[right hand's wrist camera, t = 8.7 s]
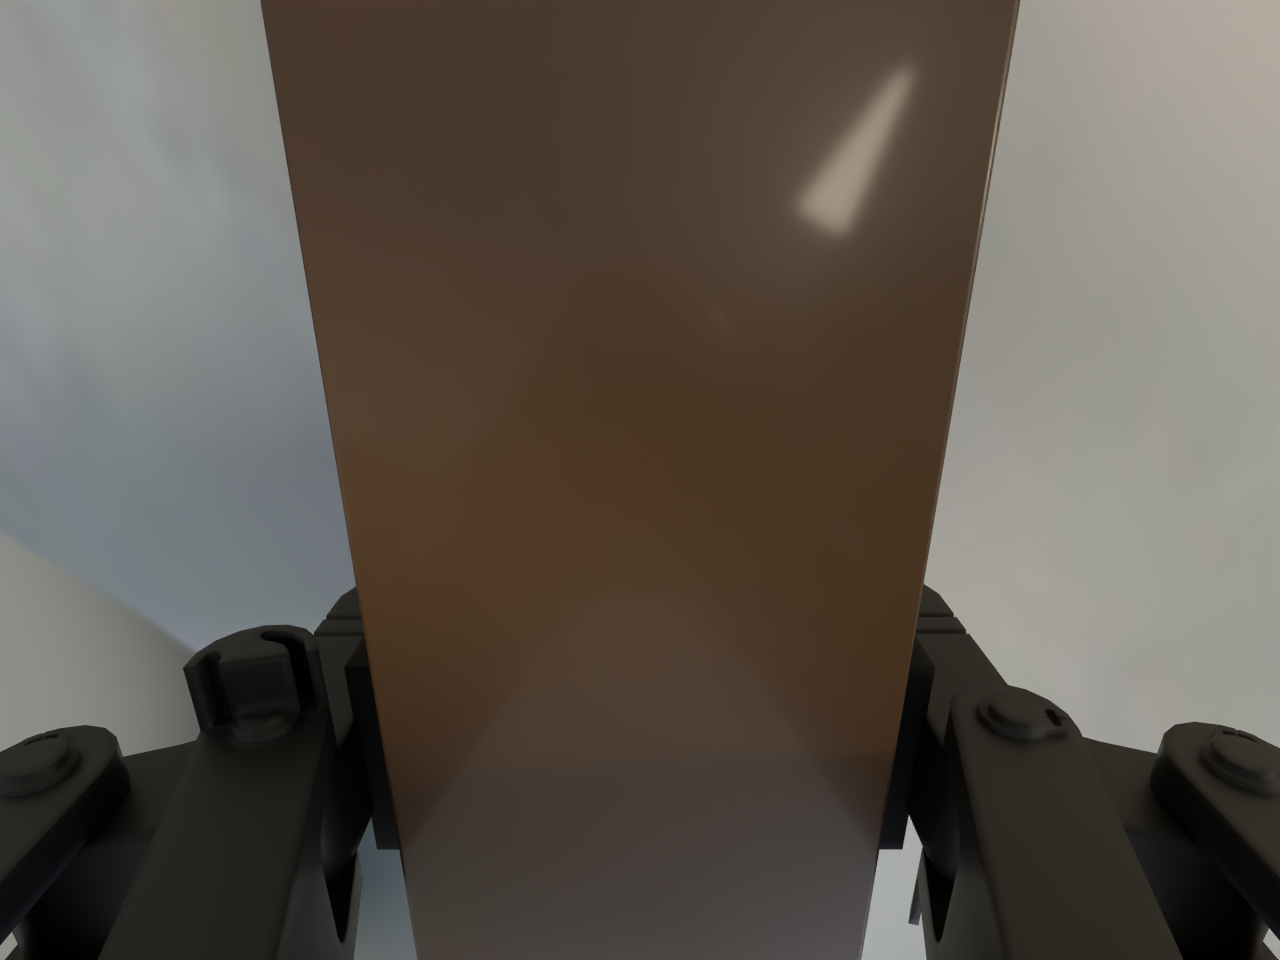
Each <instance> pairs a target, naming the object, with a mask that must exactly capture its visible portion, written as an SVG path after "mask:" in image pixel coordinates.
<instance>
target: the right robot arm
mask: <svg viewBox="0 0 1280 960" xmlns="http://www.w3.org/2000/svg"><path fill="white" fill-rule="evenodd" d="M183 670H184V673H185V677H186V680H187V684H188V687H189V691H190V694H191V698H192V701H193V705H194V709H195V712H196V715H197V719H198V723H199V726H200V730H201V731H200V734H199V736H198V738H197V740H195V741H192V742H188V743H185V744H181V745H177V746H172V747H167V748H163V749H158V750H153V751H148V752H144V753H139V754H134V755H130V756H125V757H123V755H122V752H121V749H120V746H119V743H118V741H117V738H116V736H115V735H113V734H112V733H111V732H110V731H108V730H107V729H106V728H102V727H95V726H88V725H83V726H75V727H67V728H59V729H56V730H52V731H48V732H45V733H43V734H42V733H41V734H38V735H35V736H32V737H30V738H27V739H25V740H24V741H22V742H20V743H18V744H16V745H14V746H12V747H10V748H8V749H6V750H3V751H1V752H0V945H1V944H2V943H3V941H4V940H5V939H6V938H7V937H8V935H9V934H10V933H11V932H12V933H13V935H14V937H15V939H16V941H17V943H18V945H17V946H16V947H15V948H14V949H13V951H12V952H11V953H10V954H9V956H8V957H7V958H6V959H5V960H353V959H354V950H355V941H356V932H357V923H358V915H359V906H360V897H361V888H362V880H363V877H362V870H361V863H360V858H359V853H358V846H359V843H360V841H361V839H362V836H363V834H364V832H365V830H366V827H367V825H368V823H369V820H370V818H372V823H373V829H374V834H375V839H376V845H377V849H399V843H398V837H397V831H396V825H395V819H394V813H393V807H392V801H391V794H390V788H389V782H388V776H387V770H386V764H385V758H384V752H383V746H382V739H381V733H380V727H379V721H378V715H377V709H376V703H375V697H374V691H373V685H372V678H371V672H370V666H369V660H368V654H367V648H366V642H365V636H364V630H363V623H362V617H361V611H360V605H359V599H358V593H357V587H354V588H353V589H351V590H350V591H348V592H347V593H345V594H344V595H342V596H341V597H340V598H339V600H338V601H337V602H336V604H335V605H334V606H333V608H332V609H331V610H330V612H329V613H328V614H327V616H326V620H323V621H322V622H321V624H320V625H319V626H318V628H317V629H316V630H315V632H314V635H313V634H312V633H310V632H309V631H308V630H307V629H304V628H300V627H296V626H291V625H265V626H261V627H256V628H251V629H247V630H242V631H239V632H236V633H234V634H231V635H229V636H226V637H224V638H221V639H219V640H216V641H215V642H213V643H211V644H210V645H208V646H207V647H205V648H204V649H202V650H201V651H199V652H197V653H196V654H195V655H194V656H193V657H192V658H191V660H190V661H189V662H188V663H187V664H186V665H185V666H184V668H183ZM908 815H909V816H910V818H911V820H912V822H913V825H914V827H915V829H916V832H917V834H918V836H919V838H920V841H921V843H922V845H923V848H922V853H921V858H920V863H919V868H918V873H917V878H916V883H915V888H914V893H913V899H912V904H911V909H910V916H909V923H910V924H914V925H918V924H919V919H920V914H921V913H922V922H923V931H924V939H925V948H926V957H927V960H1279V959H1277V958H1276V957H1275V955H1274V954H1273V953H1272V952H1271V951H1270V949H1269V948H1268V947H1267V946H1266V944H1265V943H1264V942H1263V940H1264V938H1265V935H1266V933H1267V931H1268V929H1269V928H1270V929H1271V931H1272V932H1273V933H1274V934H1275V935H1276V937H1277V938H1278V939H1279V940H1280V748H1278V747H1276V746H1274V745H1272V744H1270V743H1268V742H1266V741H1264V740H1262V739H1259V738H1258V737H1256V736H1254V735H1252V734H1249V733H1247V732H1244V731H1241V730H1239V731H1238V730H1235V729H1234V728H1230V727H1226V726H1222V725H1216V724H1208V723H1200V722H1191V723H1184V724H1177V725H1174V726H1173V727H1172V728H1170V729H1169V730H1168V731H1167V732H1165V733H1164V735H1163V738H1162V741H1161V744H1160V747H1159V750H1158V753H1157V754H1156V753H1151V752H1146V751H1142V750H1137V749H1132V748H1128V747H1123V746H1118V745H1113V744H1109V743H1104V742H1099V741H1096V740H1092V739H1088V738H1085V737H1082V734H1081V732H1080V730H1079V729H1078V727H1077V726H1076V725H1075V723H1074V722H1073V721H1072V719H1071V718H1070V717H1069V715H1068V714H1067V713H1066V712H1064V711H1063V710H1061V709H1060V708H1059V707H1057V706H1056V705H1055V704H1053V703H1052V702H1051V701H1049V700H1048V699H1045V698H1043V697H1041V696H1039V695H1037V694H1034V693H1032V692H1030V691H1028V690H1026V689H1022V688H1018V687H1014V686H1010V685H1007V683H1006V682H1005V681H1004V679H1003V678H1002V677H1001V675H1000V674H999V673H998V671H997V670H996V669H995V667H994V666H993V665H992V663H991V662H990V661H989V660H988V658H987V657H986V656H985V654H984V653H983V652H982V650H981V649H980V648H979V646H978V645H977V644H976V642H975V641H974V640H973V638H972V637H971V636H970V634H966V629H965V628H964V626H963V625H962V624H961V623H960V621H959V620H958V619H957V617H954V613H953V612H952V611H951V609H950V608H949V607H948V605H947V604H946V603H945V601H944V600H943V599H942V597H941V596H940V595H939V594H938V593H937V592H935V591H934V590H932V589H931V588H929V587H928V586H926V585H924V584H923V589H922V595H921V601H920V607H919V613H918V619H917V625H916V631H915V637H914V643H913V650H912V656H911V662H910V668H909V674H908V680H907V686H906V692H905V698H904V704H903V710H902V716H901V722H900V728H899V734H898V740H897V746H896V752H895V758H894V764H893V770H892V776H891V782H890V788H889V794H888V800H887V806H886V812H885V818H884V824H883V830H882V836H881V842H880V848H879V849H902V848H903V843H904V837H905V832H906V826H907V821H908Z"/></svg>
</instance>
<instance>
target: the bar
mask: <svg viewBox="0 0 1280 960" xmlns="http://www.w3.org/2000/svg"><path fill="white" fill-rule="evenodd" d="M1019 5H1020V0H261V7H262V13H263V19H264V25H265V31H266V37H267V43H268V49H269V55H270V61H271V68H272V74H273V80H274V86H275V92H276V98H277V104H278V110H279V116H280V123H281V129H282V135H283V141H284V147H285V153H286V159H287V165H288V171H289V178H290V184H291V190H292V196H293V202H294V208H295V214H296V220H297V226H298V233H299V239H300V245H301V251H302V257H303V263H304V269H305V275H306V281H307V287H308V294H309V300H310V306H311V312H312V318H313V324H314V330H315V336H316V342H317V349H318V355H319V361H320V367H321V373H322V379H323V385H324V391H325V397H326V404H327V410H328V416H329V422H330V428H331V434H332V440H333V446H334V452H335V459H336V465H337V471H338V477H339V483H340V489H341V495H342V501H343V507H344V513H345V520H346V526H347V532H348V538H349V544H350V550H351V556H352V562H353V568H354V575H355V581H356V587H357V593H358V599H359V605H360V611H361V617H362V623H363V630H364V636H365V642H366V648H367V654H368V660H369V666H370V672H371V678H372V685H373V691H374V697H375V703H376V709H377V715H378V721H379V727H380V733H381V739H382V746H383V752H384V758H385V764H386V770H387V776H388V782H389V788H390V794H391V801H392V807H393V813H394V819H395V825H396V831H397V837H398V843H399V849H400V855H401V862H402V868H403V874H404V880H405V886H406V892H407V898H408V904H409V911H410V917H411V923H412V929H413V935H414V941H415V947H416V953H417V959H418V960H861V957H862V951H863V945H864V939H865V933H866V926H867V920H868V914H869V908H870V902H871V896H872V890H873V884H874V878H875V872H876V866H877V860H878V854H879V848H880V842H881V836H882V830H883V824H884V818H885V812H886V806H887V800H888V794H889V788H890V782H891V776H892V770H893V764H894V758H895V752H896V746H897V740H898V734H899V728H900V722H901V716H902V710H903V704H904V698H905V692H906V686H907V680H908V674H909V668H910V662H911V656H912V650H913V643H914V637H915V631H916V625H917V619H918V613H919V607H920V601H921V595H922V589H923V583H924V577H925V571H926V565H927V559H928V553H929V547H930V541H931V535H932V529H933V523H934V517H935V511H936V505H937V499H938V493H939V487H940V481H941V475H942V469H943V463H944V457H945V451H946V445H947V439H948V433H949V427H950V421H951V415H952V409H953V403H954V397H955V391H956V385H957V379H958V373H959V367H960V361H961V354H962V348H963V342H964V336H965V330H966V324H967V318H968V312H969V306H970V300H971V294H972V288H973V282H974V276H975V270H976V264H977V258H978V252H979V246H980V240H981V234H982V228H983V222H984V216H985V210H986V204H987V198H988V192H989V186H990V180H991V174H992V168H993V162H994V156H995V150H996V144H997V138H998V132H999V126H1000V120H1001V114H1002V108H1003V102H1004V96H1005V90H1006V84H1007V78H1008V72H1009V65H1010V59H1011V53H1012V47H1013V41H1014V35H1015V29H1016V23H1017V17H1018V11H1019Z"/></svg>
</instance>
